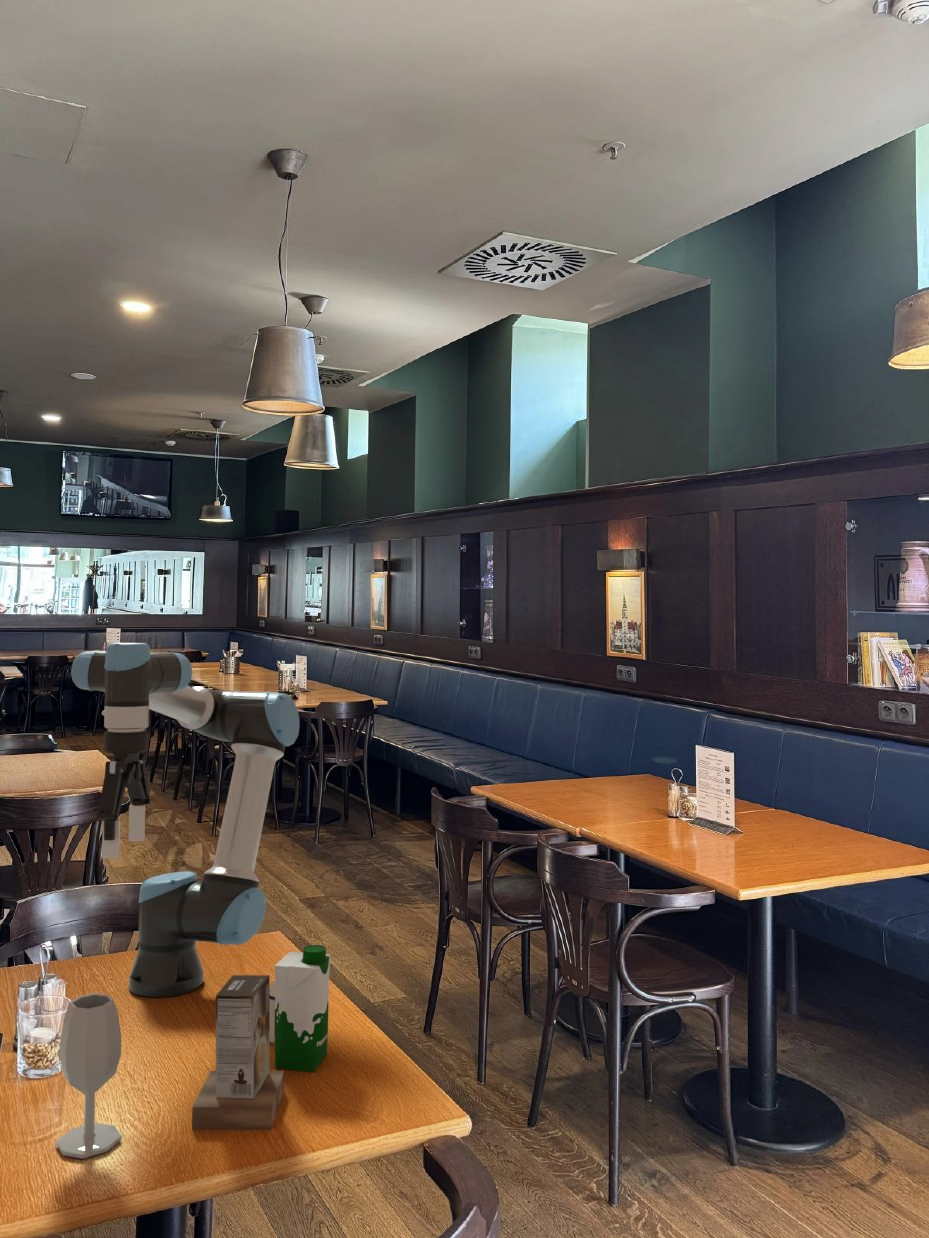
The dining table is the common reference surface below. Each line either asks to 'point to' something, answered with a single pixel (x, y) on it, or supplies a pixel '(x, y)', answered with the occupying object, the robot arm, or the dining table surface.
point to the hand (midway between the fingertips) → (124, 849)
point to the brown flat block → (238, 1106)
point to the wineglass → (90, 1068)
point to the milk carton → (302, 1009)
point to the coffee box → (242, 1036)
